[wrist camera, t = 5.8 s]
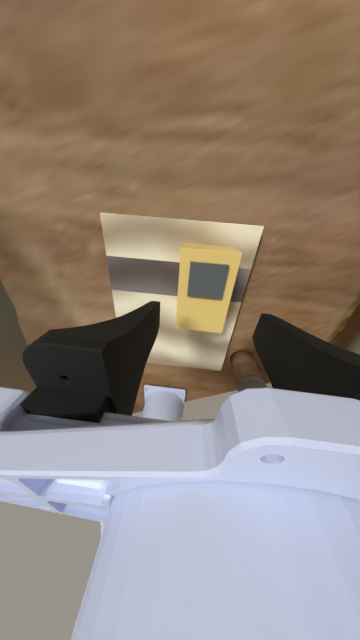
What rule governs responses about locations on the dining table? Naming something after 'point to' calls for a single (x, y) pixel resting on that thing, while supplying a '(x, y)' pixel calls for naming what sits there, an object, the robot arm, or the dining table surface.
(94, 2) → the dining table surface
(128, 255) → the panel
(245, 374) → the brown cylindrical piece
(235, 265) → the stud finder
